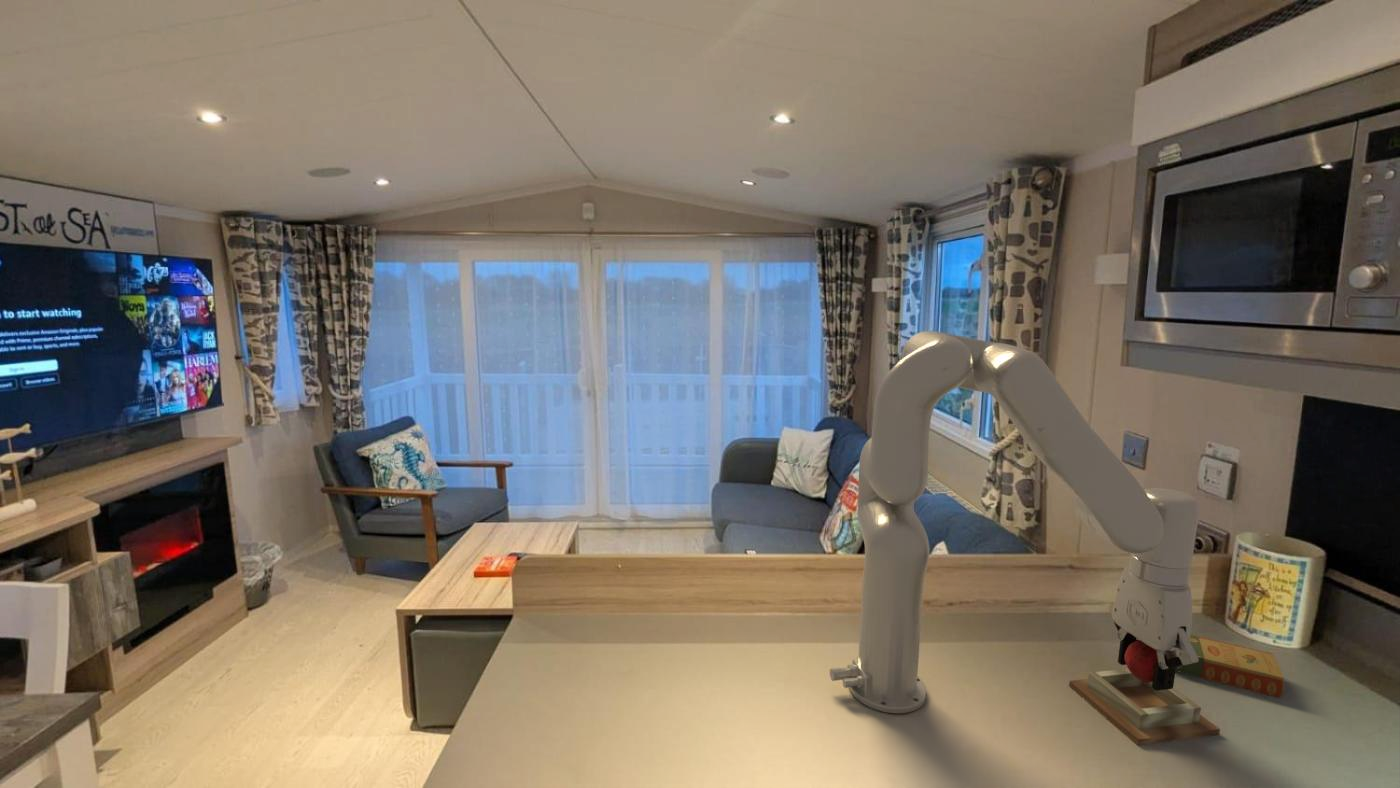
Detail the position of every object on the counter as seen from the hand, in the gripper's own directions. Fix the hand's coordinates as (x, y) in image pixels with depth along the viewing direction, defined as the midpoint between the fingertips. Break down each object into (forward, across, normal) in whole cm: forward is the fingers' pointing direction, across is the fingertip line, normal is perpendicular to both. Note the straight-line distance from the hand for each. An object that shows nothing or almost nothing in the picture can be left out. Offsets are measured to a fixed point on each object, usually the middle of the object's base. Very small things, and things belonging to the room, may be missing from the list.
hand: (1144, 674), depth 100 cm
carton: (+7, -7, +22) cm, 24 cm away
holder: (+6, 0, 0) cm, 6 cm away
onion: (+2, 0, 0) cm, 2 cm away
